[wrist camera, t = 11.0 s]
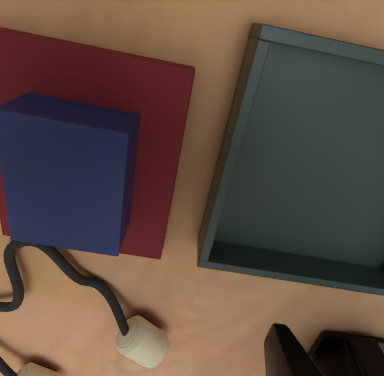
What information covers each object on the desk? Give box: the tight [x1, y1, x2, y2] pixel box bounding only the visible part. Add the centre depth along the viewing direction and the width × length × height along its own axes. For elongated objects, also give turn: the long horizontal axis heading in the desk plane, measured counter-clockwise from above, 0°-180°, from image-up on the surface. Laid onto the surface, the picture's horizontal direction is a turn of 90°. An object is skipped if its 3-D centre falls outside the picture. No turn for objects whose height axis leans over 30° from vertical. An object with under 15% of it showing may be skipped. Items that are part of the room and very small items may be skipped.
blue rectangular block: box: [0, 93, 141, 256], centre depth 17 cm, size 8×6×3 cm
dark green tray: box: [197, 23, 384, 296], centre depth 18 cm, size 14×14×3 cm
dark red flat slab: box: [0, 27, 195, 259], centre depth 19 cm, size 13×11×1 cm
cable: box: [0, 240, 170, 376], centre depth 25 cm, size 16×16×4 cm
